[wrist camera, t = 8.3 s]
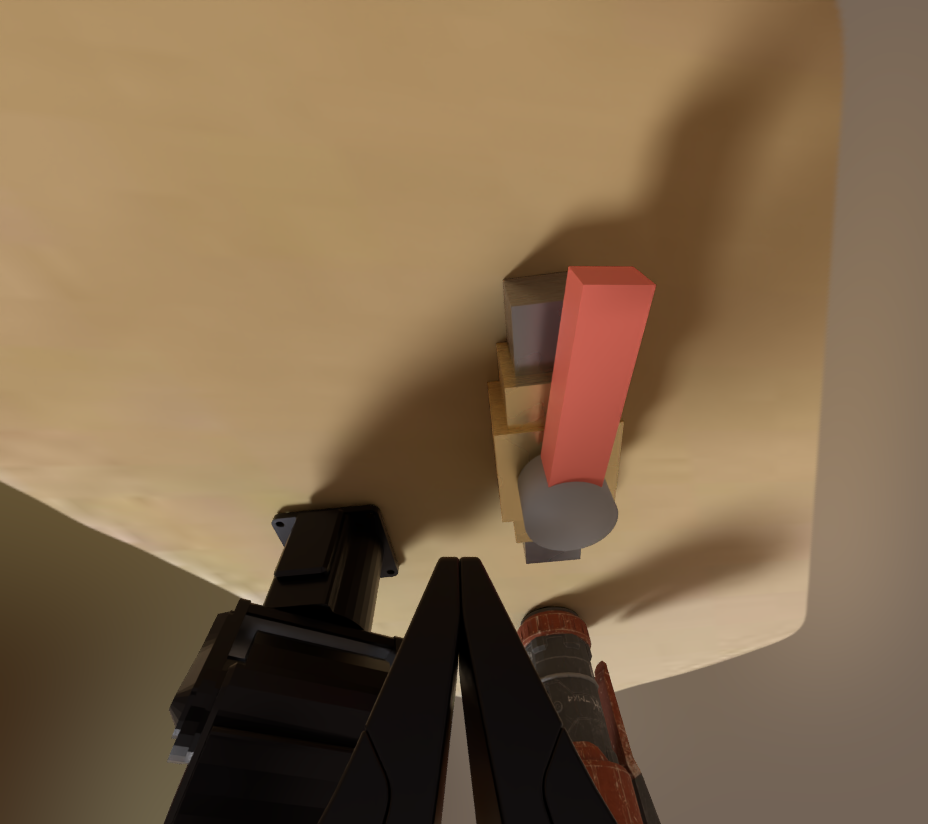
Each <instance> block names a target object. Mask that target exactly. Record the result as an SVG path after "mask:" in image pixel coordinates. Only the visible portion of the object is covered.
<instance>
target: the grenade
mask: <svg viewBox="0 0 928 824" xmlns="http://www.w3.org/2000/svg"><path fill="white" fill-rule="evenodd" d="M517 633H518V635H519V637H520V639H521V641H522V643H523V645H524V647H525V649H526V651H527V653H528V655H529V657H530V659H531V661H532V663H533V665H534V667H535V669H536V671H537V673H538V675H539V677H540V679H541V681H542V683H543V685H544V687H545V689H546V691H547V693H548V695H549V697H550V699H551V701H552V703H553V705H554V707H555V709H556V711H557V713H558V715H559V717H560V719H561V721H562V723H563V726H562V728H565V729H566V730H567V732H568V734H569V736H570V738H571V740H572V742H573V744H574V746H575V748H576V750H577V752H578V754H579V756H580V758H581V759H582V761H583V763H584V765H585V767H586V769H587V771H588V772H589V774H590V776H591V778H592V780H593V782H594V784H595V786H596V787H597V789H598V791H599V792H600V794H601V796H602V797H603V799H604V801H605V803H606V804H607V806H608V808H609V809H610V811H611V813H612V814H613V816H614V818H615V819H616V821H617V823H618V824H661V823H660V821H659V818H658V815H657V813H656V810H655V808H654V805H653V802H652V800H651V797H650V794H649V792H648V789H647V787H646V784H645V781H644V779H643V776H642V773H641V771H640V769H639V768H638V766H637V764H636V762H635V760H634V758H633V756H632V752H631V749H630V746H629V742H628V738H627V735H626V732H625V728H624V725H623V721H622V718H621V715H620V711H619V707H618V704H617V700H616V697H615V693H614V690H613V686H612V683H611V679H610V676H609V672H608V669H607V665H606V663H605V662H603V661H601V662H600V663H599V664H598V665H597V666H596V669H595V677H594V674H593V670H592V666H591V662H590V661H591V658H592V654H591V650H590V648H591V641H590V637H589V633H588V630H587V626H586V624H585V623H584V621H583V620H581V619H580V618H579V616H578V615H577V614H576V613H575V612H573V611H571V610H569V609H565V608H560V607H549V608H543V609H539V610H536V611H534V612H531V613H530V614H528V615H527V616H526V617H525V618H524V619H523V620H522V622H521V626H520V627H519V629H518V631H517ZM562 728H561V729H562Z"/></svg>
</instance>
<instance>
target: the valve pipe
mask: <svg viewBox="0 0 928 824" xmlns="http://www.w3.org/2000/svg"><path fill="white" fill-rule="evenodd" d="M567 274H568V272H560V273H552V274H544V275H536V276H528V277H520V278H512V279H504V280H503V289H504V303H505V318H506V333H507V342H504V343H496V346H497V358H498V370H499V381H492V382H487V385H488V395H489V405H490V415H491V425H492V434H493V444H494V454H495V463H496V472H497V480H498V488H499V497H500V505H501V513H502V522H510V521H513V523H514V529H515V536H516V543H522V542H523V547H524V553H525V559H526V564H530V563H542V562H553V561H564V560H575V559H580V555H581V549H577V550H570V551H558V550H551V549H547V548H544V547H542V546H540V545H538V544H536V543H535V542H533V541H532V540H531V539H530V538H529V536H528V535H527V533H526V530H525V526H524V520H523V514H522V508H521V503H520V497H519V491H518V477H519V475H520V473H521V471H522V469H523V468H524V467H525V465H526V464H527V463H528V462H530V461H531V460H532V459H534V458H535V457H537V456H539V455H541V450H542V443H543V436H544V430H545V423H546V416H547V409H548V402H549V396H550V389H551V382H552V375H553V369H554V362H555V355H556V348H557V341H558V335H559V328H560V321H561V314H562V308H563V301H564V294H565V287H566V280H567ZM623 426H624V421H623V420H622V418H620V422H619V426H618V429H617V433H616V437H615V441H614V444H613V448H612V452H611V455H610V459H609V463H608V467H607V470H606V474H605V480H606V482H607V485H608V487H609V489H610V492H611V494H612V497H613V499H614V501H615V494H616V486H617V477H618V469H619V460H620V452H621V443H622V434H623Z"/></svg>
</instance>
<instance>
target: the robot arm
mask: <svg viewBox="0 0 928 824" xmlns="http://www.w3.org/2000/svg"><path fill="white" fill-rule="evenodd" d="M371 513H373V514H371ZM272 526H273V528H274V530H275V532H276V533H277V535H278V537H279V539H280V540H281V542H282V544H283V546H284V549H283V552H282V554H281V557H280V559H279V562H278V564H277V567H276V569H275V572H274V575H275V576H274V579H273V581H272V584H271V586H270V589H269V591H268V594H267V596H266V599H265V601H264V604H263V606H262V605H258V604H254V603H251V601H250V600H246V599H242V598H240V600H239V602H238V604H237V606H236V609H235V611H232V610H231V611H230V612H225V613H221V614H218V615H217V617H216V619H215V621H214V623H213V625H212V628H211V629H210V631H209V634H208V636H207V638H206V640H205V642H204V644H203V646H202V648H201V650H200V651H199V653H198V655H197V658H196V659H195V661H194V663H193V664H192V666H191V668H190V670H189V672H188V673H187V675H186V677H185V679H184V681H183V682H182V684H181V686H180V688H179V690H178V692H177V693H176V696H175V697H174V699H173V702H172V704H171V706H170V709H169V711H170V714H171V716H172V719H173V722H174V725H175V727H176V728H175V730H174V733H173V735H172V738H173V739H176V741H175V743H174V746H173V748H172V751H171V753H170V755H169V758H168V761H167V762H170V763H177V764H188V765H187V767H186V770H185V772H184V774H183V777H182V779H181V781H180V784H179V786H178V789H177V791H176V794H175V796H174V798H173V801H172V803H171V806H170V808H169V811H168V814H167V816H166V819H165V821H164V824H441V821H442V812H443V803H444V794H445V784H446V775H447V766H448V756H449V747H450V737H451V728H452V719H453V709H454V701H455V691H456V682H457V670H458V657H459V675H460V685H461V693H462V702H463V710H464V719H465V728H466V737H467V746H468V754H469V763H470V772H471V781H472V789H473V798H474V806H475V815H476V824H618V823H617V821H616V819H615V818H614V816H613V814H612V813H611V811H610V809H609V808H608V806H607V804H606V803H605V801H604V799H603V797H602V796H601V794H600V792H599V791H598V789H597V787H596V786H595V784H594V782H593V780H592V778H591V776H590V774H589V772H588V771H587V769H586V767H585V765H584V763H583V761H582V759H581V758H580V756H579V754H578V752H577V750H576V748H575V746H574V744H573V742H572V740H571V738H570V736H569V734H568V732H567V730H566V729H565V728H562V726H563V723H562V721H561V719H560V717H559V715H558V713H557V711H556V709H555V707H554V705H553V703H552V701H551V699H550V697H549V695H548V693H547V691H546V689H545V687H544V685H543V683H542V681H541V679H540V677H539V675H538V673H537V671H536V669H535V667H534V665H533V663H532V661H531V659H530V657H529V655H528V653H527V651H526V649H525V647H524V645H523V643H522V641H521V639H520V637H519V635H518V633H517V631H516V629H515V627H514V625H513V623H512V621H511V619H510V617H509V615H508V613H507V611H506V609H505V607H504V605H503V604H502V602H501V600H500V598H499V596H498V594H497V592H496V590H495V588H494V586H493V584H492V582H491V580H490V578H489V576H488V574H487V572H486V570H485V568H484V566H483V564H482V562H481V560H480V559H479V558H478V557H461V558H460V560H459V559H458V558H457V557H441V558H440V559H439V560H438V562H437V564H436V566H435V569H434V571H433V573H432V576H431V578H430V580H429V582H428V585H427V587H426V589H425V591H424V594H423V596H422V598H421V600H420V603H419V605H418V607H417V609H416V612H415V614H414V616H413V618H412V621H411V623H410V625H409V628H408V630H407V632H406V634H405V637H404V638H401V637H397V636H394V637H389V636H385V635H381V634H377V633H373V632H371V629H372V623H373V617H374V610H375V604H376V598H377V592H378V586H379V580H380V578H383V577H393V576H396V575H397V574H398V570H399V566H398V563H397V560H396V557H395V554H394V551H393V548H392V545H391V542H390V539H389V536H388V533H387V530H386V527H385V524H384V521H383V518H382V515H381V512H380V509H379V508H378V507H377V506H375V505H363V506H353V507H343V508H332V509H322V510H312V511H302V512H292V513H282V514H276V515H275V516H274V518H273V521H272ZM561 728H562V729H561Z"/></svg>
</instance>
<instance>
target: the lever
mask: <svg viewBox="0 0 928 824" xmlns="http://www.w3.org/2000/svg"><path fill="white" fill-rule="evenodd" d="M655 288H656V285H655V284H654V283H653V282H652V281H651V280H649V279H648V278H647V277H646V276H644V275H643V274H642V273H641V272H639V271H638V270H637V269H636V268H634V267H625V266H569V267H568V274H567V280H566V287H565V294H564V301H563V308H562V314H561V321H560V328H559V335H558V341H557V348H556V355H555V362H554V369H553V375H552V382H551V389H550V396H549V402H548V409H547V416H546V423H545V430H544V436H543V443H542V450H541V455H539V456H537V457H535V458H534V459H532V460H531V461H530V462H528V463H527V464H526V465H525V467H524V468H523V469H522V471H521V473H520V475H519V477H518V491H519V497H520V503H521V508H522V514H523V520H524V526H525V530H526V533H527V535H528V536H529V538H530V539H531V540H532V541H533V542H535V543H536V544H538V545H540V546H542V547H544V548H547V549H551V550H558V551H570V550H577V549H581V548H585V547H588V546H590V545H593V544H595V543H597V542H599V541H600V540H602V539H603V538H604V537H606V536H607V535H608V534H609V533H610V532H611V531H612V529H613V528H614V526H615V525H616V522H617V519H618V509H617V506H616V504H615V501H614V499H613V497H612V494H611V492H610V489H609V487H608V485H607V482H606V480H605V474H606V470H607V467H608V463H609V459H610V455H611V452H612V448H613V444H614V441H615V437H616V433H617V429H618V426H619V422H620V418H621V414H622V411H623V407H624V403H625V400H626V396H627V392H628V388H629V385H630V381H631V377H632V374H633V370H634V366H635V362H636V359H637V355H638V351H639V348H640V344H641V340H642V336H643V333H644V329H645V325H646V321H647V318H648V314H649V310H650V307H651V303H652V299H653V295H654V292H655Z"/></svg>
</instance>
